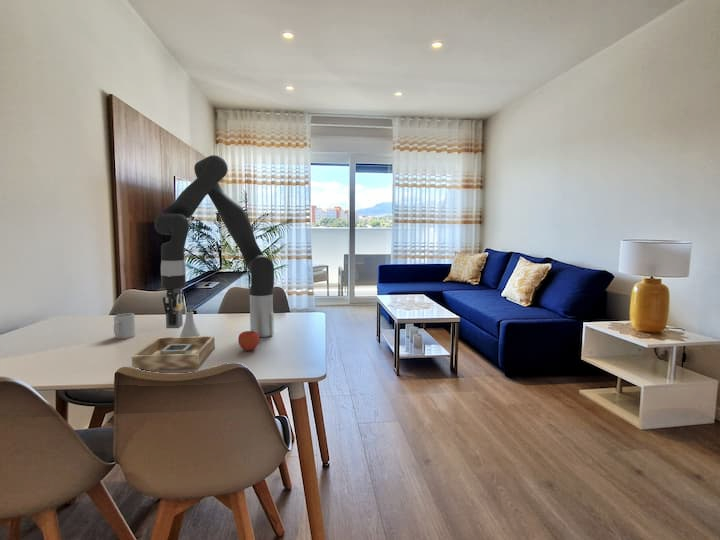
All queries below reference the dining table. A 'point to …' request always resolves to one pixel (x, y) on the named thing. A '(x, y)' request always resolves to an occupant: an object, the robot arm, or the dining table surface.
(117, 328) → the cup
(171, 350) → the frame
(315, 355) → the dining table surface
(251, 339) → the apple
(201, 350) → the walled box
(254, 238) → the robot arm
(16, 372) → the dining table surface
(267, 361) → the dining table surface
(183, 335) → the flask
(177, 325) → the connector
